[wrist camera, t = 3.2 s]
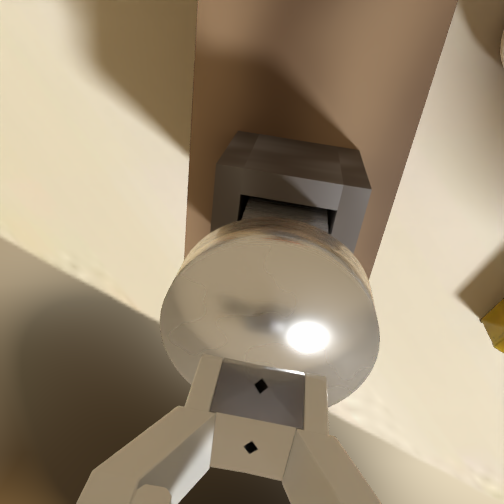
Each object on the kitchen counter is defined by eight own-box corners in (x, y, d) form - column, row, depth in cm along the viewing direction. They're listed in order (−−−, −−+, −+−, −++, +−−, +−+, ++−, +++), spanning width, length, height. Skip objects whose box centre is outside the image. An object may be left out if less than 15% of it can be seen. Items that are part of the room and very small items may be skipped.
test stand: (447, -170, 22) (701, -520, 8) (348, 208, 33) (374, 362, 19) (261, -192, 23) (164, -562, 8) (224, 187, 34) (154, 321, 19)
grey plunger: (376, 177, 15) (410, 268, 10) (339, 307, 18) (349, 432, 13) (215, 151, 16) (161, 225, 10) (204, 283, 19) (158, 395, 13)
